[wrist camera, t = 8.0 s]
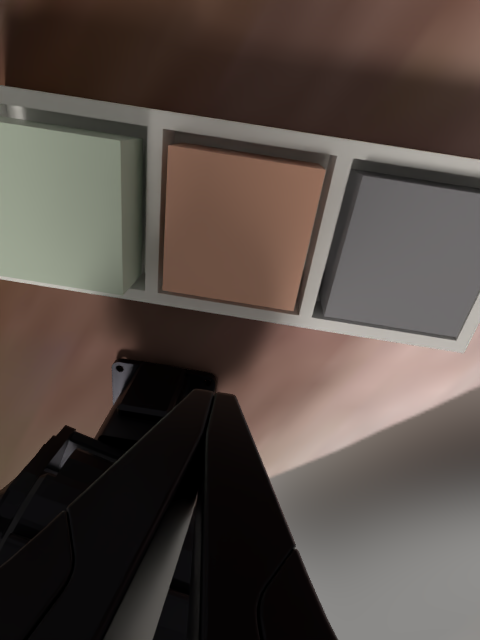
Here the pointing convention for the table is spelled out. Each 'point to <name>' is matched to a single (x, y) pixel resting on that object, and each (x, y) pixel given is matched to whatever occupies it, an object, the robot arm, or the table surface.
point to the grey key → (404, 254)
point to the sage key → (70, 206)
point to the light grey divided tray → (256, 139)
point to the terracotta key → (238, 224)
